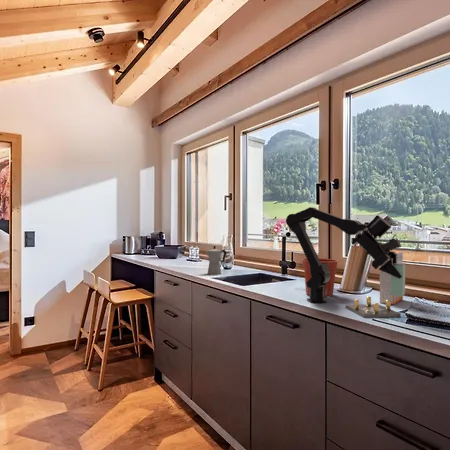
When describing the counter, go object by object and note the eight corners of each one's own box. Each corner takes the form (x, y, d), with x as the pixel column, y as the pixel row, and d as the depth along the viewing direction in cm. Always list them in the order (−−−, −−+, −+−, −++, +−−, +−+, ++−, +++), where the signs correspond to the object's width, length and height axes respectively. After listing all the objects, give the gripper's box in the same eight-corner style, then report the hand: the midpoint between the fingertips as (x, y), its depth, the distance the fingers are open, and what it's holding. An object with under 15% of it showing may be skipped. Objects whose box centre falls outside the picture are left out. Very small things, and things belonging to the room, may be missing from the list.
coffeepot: (208, 275, 233) (208, 246, 233) (202, 273, 242) (202, 245, 241) (229, 273, 240) (229, 246, 240) (222, 272, 249) (223, 245, 249)
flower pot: (337, 292, 177) (338, 258, 177) (338, 299, 161) (339, 262, 161) (302, 290, 181) (302, 257, 181) (300, 296, 165) (300, 260, 165)
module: (390, 294, 136) (391, 264, 136) (393, 292, 140) (393, 263, 140) (402, 296, 134) (402, 264, 134) (404, 294, 138) (405, 263, 138)
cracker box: (388, 298, 164) (389, 250, 164) (403, 299, 160) (403, 251, 160) (378, 303, 153) (378, 252, 153) (393, 305, 149) (394, 253, 149)
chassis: (345, 307, 144) (345, 295, 144) (378, 307, 145) (378, 295, 145) (363, 317, 129) (363, 304, 129) (400, 316, 130) (400, 303, 130)
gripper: (381, 231, 132) (415, 264, 125) (392, 231, 147) (423, 260, 141) (358, 252, 136) (390, 285, 130) (371, 249, 151) (400, 279, 145)
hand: (402, 276), depth 136 cm, fingers closed on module, 5 cm apart
